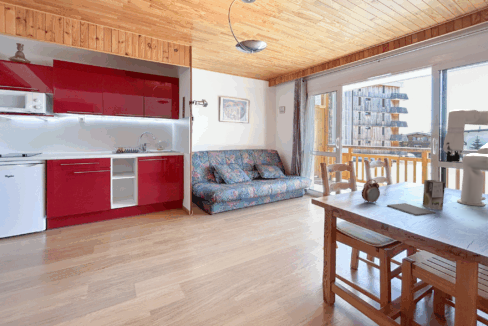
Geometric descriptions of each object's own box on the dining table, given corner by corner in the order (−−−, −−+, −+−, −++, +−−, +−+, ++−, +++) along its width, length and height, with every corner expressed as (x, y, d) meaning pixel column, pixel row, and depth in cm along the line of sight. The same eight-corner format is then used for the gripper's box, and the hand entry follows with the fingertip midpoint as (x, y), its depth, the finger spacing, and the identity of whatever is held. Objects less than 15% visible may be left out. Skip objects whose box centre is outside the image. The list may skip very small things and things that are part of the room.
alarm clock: (366, 204, 145) (367, 180, 144) (360, 202, 150) (361, 179, 148) (380, 203, 148) (381, 180, 147) (374, 201, 153) (375, 178, 151)
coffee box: (443, 210, 134) (445, 182, 132) (430, 209, 135) (432, 182, 133) (433, 205, 143) (436, 179, 141) (421, 204, 144) (424, 179, 142)
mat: (405, 204, 145) (405, 203, 145) (435, 213, 128) (435, 212, 128) (387, 206, 142) (387, 204, 141) (415, 215, 124) (415, 214, 124)
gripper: (458, 131, 143) (455, 160, 145) (438, 131, 139) (435, 161, 141) (473, 131, 136) (470, 162, 138) (452, 131, 132) (449, 162, 134)
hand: (452, 161), depth 139 cm, fingers open, 4 cm apart
